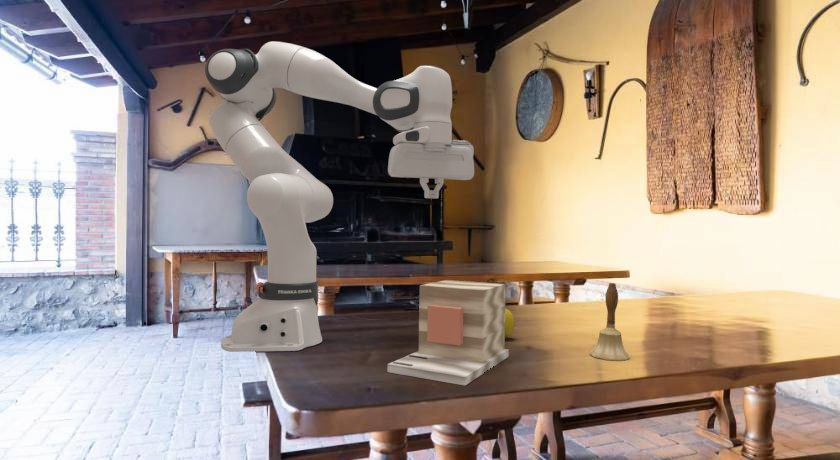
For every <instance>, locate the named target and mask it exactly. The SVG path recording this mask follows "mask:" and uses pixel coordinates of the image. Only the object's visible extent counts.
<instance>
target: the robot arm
mask: <svg viewBox="0 0 840 460" xmlns="http://www.w3.org/2000/svg"><path fill="white" fill-rule="evenodd" d="M204 73H205V78H206V79H207V81H208V83H209V84H210V86H211V87H212V89H213V90H215V91H216V92H217V93H219V95H221V97H223V98H222V100H221V103H220V104H218V105H217V106H216V107H215V108H214V109H213V110H212V111H211V113H210V114H209V115H210V116H209V119H208V122H209V127H210V130H211V132H212V134H213V135H214V137H215V139H216V141H217V142H218V144H219V145H220V147H221V149H222V150H223V151H224V153H225V154H226V155H227V156H228V157H229V159H230V161H232V163H233V164H234V165H235V166H236V168H237V169H238V170H239V172H240V173H241V174H242V175H243V177H245V178H246V179H247V180H248V181H249V182H251V183H250V184H249V186H248V189H247V193H246V203H247V205H248V208H249V211H251V213H252V214H253V215H254V216H255V217H256V219H257V220H258V222H259V224H260V226H261V229H262V232H263V235H264V239H265V243H266V249H267V251H266V252H267V281H265V282H263V281H260V282H258V283H257V284H256V286H255V289H256V291H257V293H258V295H257V296H258V298H257V300H255V301H253V302H252V303H251V304H250V305H249V306H247V307H246V308H244V310H242V311H241V312H240V313H239V314H237V316H236V317H235V319H234V321H233V323H232V328H231V333H230V335H227V336H225V337H224V338H222V340H221V346H220V347H221V349H222V350H224V351H225V352H229V353H231V352H232V353H241V352H242V353H243V352H244V353H245V352H247V353H248V352H251V353H252V352H291V351H292V352H296V351H300V350H303V349H305V348H308V347H312V346H316V345H318V344H320V343H322V342H323V335H322V333H321V329H320V324H319V316H318V303H319V282H318V281H317V254H318V253H317V248H316V246H315V244H314V243H313V242H312V240H311V238H310V235H309V233H308V229H307V225H306V223H314V222H316V221H318V220H319V221H320V220H322V219H324V218H326V216H328V215H329V214H330V212H331V211H332V209H333V205H334V196H333V193H332V191H331V188H329V187H328V186H327V185H326V184H325V183H323V182H322V181H320V180H319V179H317V178H316V177H315V176H314V175H313V174H312V173H311V172H310V171H308V170H307V169H306V168H305V167H304V166H303V165H302V164H301V163H299V162H298V161H297V160H296V159H294V158H293V157H292V156H291V155H289V154H288V153H287V151H285V149H283V148H282V147H281V145H280V144H279V143H278V142H277V141H276V140H275V138H274V137H273V136H272V134H270V132H269V131H268V130H267V129H266V128H265V127H264V125H263V124H262V123H261V122H260V121H261V120H263V119H264V117H265V116H266V115H268V114H270V112H271V111H272V110H273V108H274V107H275V105H276V103H277V91H276V89H277V88H279V89H284V90H286V91H289V92H291V93H294V94H296V95H300V96H304V97H308V98H311V99H317V100H322V101H327V102H333V103H339V104H343V105H348V106H351V107H353V108H354V107H355V108H357V109H359V110H361V111H365V112H367V113H369V114H372V115H375V116H377V117H379V118H380V120H382V121H384V122H385V123H387V124H388V125H389V126H391V127H392V128H393V129H394V130H396V131H397V132H399V133H397V134H396V135H394V136H393V138H392V143H393V145H394V146H392V147H391V149H390V152H389V156H388V163H387V164H388V165H387V173H388V174H389V176H390V177H391V178H393V177H394V178H409V179H410V178H413V179H419V184H420V186H421V188H422V190H423V191H424V192H423V193H424V194H423V195H424V198H425V199H439V196H440V191H441V188H442V187H443V185H444V180H458V181H469V180H472V179H473V178H474V176H475V163H474V162H475V161H474V154H475V153H474V149H475V148H474V146H473V144H472V143H471V142H469V141H468V140H466V139H464V140H459V139H453V138H452V137H453V136H452V134H453V132H452V131H453V127H452V126H453V124H452V123H453V122H452V119H451V112H452V111H451V110H452V108H453V86H452V79H451V76H450V74H449V73H448V72H447V71H446V70H445V69H443V68H441V67H439V66H436V65H431V64H430V65H427V64H424V65H420V66H418V67H416V68H415V70H413V72H411V73H408V75H404V76H403V77H401V78H398V79H396V80H395V79H394V80H388V81H385V82H384V83H382V84H380V85H379V86H378V87H374V86H372V85H369V84H366V83H364V82H362V81H359V80H358V79H356V78H354V77H353V76H351V75H350V74H348V72H346V71H345V70H344V69H343V68H341V67H340V66H339V65H338V64H336V63H335V62H334V61H333V60H332V59H330V58H328V57H326V56H325V55H323V54H322V53H319V52H317V51H315V50H314V49H310V48H308V47H304V46H301V45H298V44H294V43H288V42H285V41H284V42H283V41H268V42H266V43H264V44H263V45H262V46H261V47H260V49H259V51H258V52H257V53H256V54H255V53H254V52H253V51H252V50H251V49H249V48H240V49H235V48H223V49H219V50H218V51H215V52H214V53H212V54H211V55H210V56H209V57H208V59H207V61H206V62H205V67H204ZM275 88H276V89H275ZM429 179H434V184H436V185H435V187H434V189H433V190H432V189H430V187H429V186H428V183H429V182H430V181H429Z"/></svg>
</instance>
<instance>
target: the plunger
mask: <svg viewBox="0 0 840 460" xmlns="http://www.w3.org/2000/svg"><path fill="white" fill-rule="evenodd" d="M427 341H430V342H437V343H445V344H452V345H462V344H463V308H459V307H449V306H439V305H429V306H428V317H427Z"/></svg>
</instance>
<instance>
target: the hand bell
mask: <svg viewBox="0 0 840 460" xmlns="http://www.w3.org/2000/svg"><path fill="white" fill-rule="evenodd" d="M618 302H619V292H618V290H617V283H616V282H615V283H614V282H609V283H608V287H607V289H606V291H605V306H606V309H607V311H606V312H607V315H606V317H607V318H606V320H607V321H606V327H605V328H603V329H601V330H600V331H599V333H598V339H597V342H596V345H595V346H594V348H592V349H591V350H590V352H589V355H590V356H591V357H593V358H597V359H599V360H605V361H616V362H621V361H623V362H625V361H628V360H630V359H631V356H630V354H629V353H628V352H627V350H626V349H625V346H624V344H623V338H622V332H621V331H619V330H618V329H616V309H617V307H618Z"/></svg>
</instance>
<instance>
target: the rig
mask: <svg viewBox="0 0 840 460" xmlns="http://www.w3.org/2000/svg"><path fill="white" fill-rule="evenodd" d="M418 296H419V298H418V299H419V303H418V304H419V305H418V312H419V313H418V314H419V315H418V350H417V351H415V352H413V353H411V354H408V355H405V356H404V357H401V358H399V359H396V360H395V361H391V362H389V363H387V372H386V373H391V374H397V375H403V376H406V377H407V376H409V377H412V378H419V379H425V380H430V381H438V382H443V383H448V384H453V385H459V386H467V385H468V384H470V383H472V382H473V381H474V380H475V379H477V378H479V377H481V376H482V375H484V374H485V373H487V372H488V371H490V370H491V369H493V366H494V367H495V366H497V365H499V364H500V363H501V362H503V361H504V360H506V359H507V358H509V357H510V349H507V348H505V343H506V340H505V339H506V337H505V308H506V283H495V282H494V283H493V282H484V281H483V282H482V281H480V282H479V281H467V280H466V281H465V280H453V279H445V280H440V281H435V282H431V283H425V284H421V285H419V295H418ZM429 305H439V306H449V307H459V308H463V344H462V345H452V344H445V343H437V342H430V341H427V317H428V306H429ZM490 368H491V369H490ZM487 370H488V371H487ZM484 372H485V373H484Z"/></svg>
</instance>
